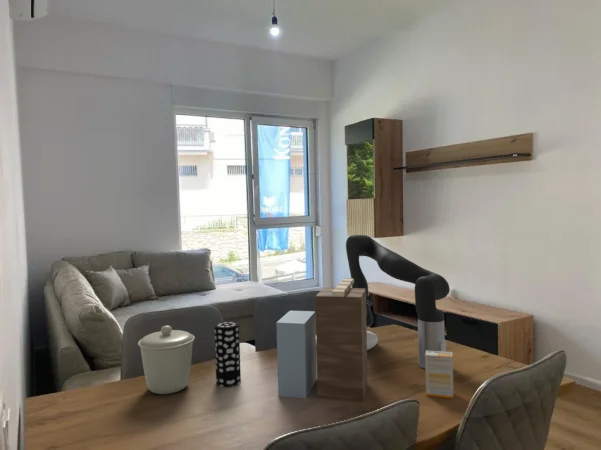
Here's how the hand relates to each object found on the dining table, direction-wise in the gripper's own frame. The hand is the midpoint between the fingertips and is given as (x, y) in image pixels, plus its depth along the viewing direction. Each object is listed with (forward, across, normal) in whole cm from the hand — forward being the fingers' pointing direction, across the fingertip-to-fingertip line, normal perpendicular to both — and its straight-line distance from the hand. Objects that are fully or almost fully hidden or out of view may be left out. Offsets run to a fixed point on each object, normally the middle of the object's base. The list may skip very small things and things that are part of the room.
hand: (351, 293), depth 167 cm
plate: (-33, -6, +12) cm, 36 cm away
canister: (+14, -58, +40) cm, 71 cm away
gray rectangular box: (+7, -15, +35) cm, 38 cm away
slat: (+18, 0, +5) cm, 19 cm away
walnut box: (+7, 0, +35) cm, 36 cm away
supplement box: (+4, +30, +34) cm, 45 cm away
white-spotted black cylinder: (+7, -40, +35) cm, 53 cm away
